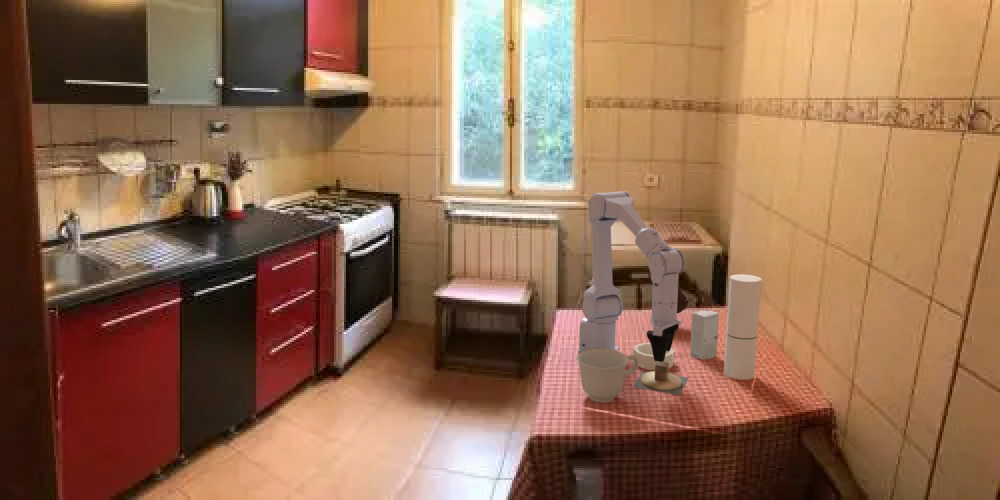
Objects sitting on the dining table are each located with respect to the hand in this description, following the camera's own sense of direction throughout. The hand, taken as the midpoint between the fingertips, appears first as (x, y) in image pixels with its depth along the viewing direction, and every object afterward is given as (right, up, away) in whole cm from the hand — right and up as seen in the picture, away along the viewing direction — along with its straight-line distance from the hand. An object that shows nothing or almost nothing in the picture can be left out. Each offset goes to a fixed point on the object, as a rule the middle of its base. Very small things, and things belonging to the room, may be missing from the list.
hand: (662, 355), depth 159 cm
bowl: (+1, -4, +14) cm, 15 cm away
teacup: (-14, -9, -6) cm, 18 cm away
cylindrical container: (+20, -6, +6) cm, 22 cm away
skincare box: (+16, -3, +19) cm, 25 cm away
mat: (0, -7, +2) cm, 7 cm away
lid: (0, -7, +1) cm, 7 cm away
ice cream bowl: (+13, +2, +43) cm, 45 cm away
